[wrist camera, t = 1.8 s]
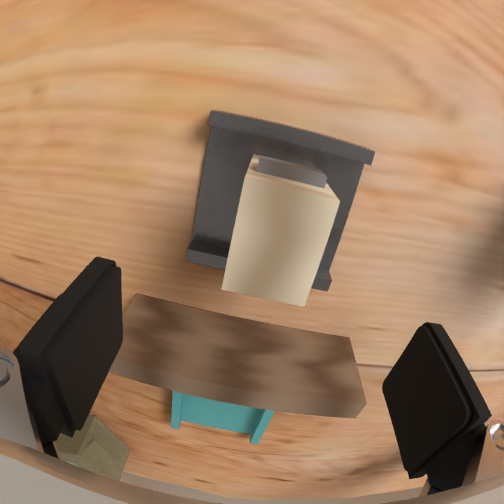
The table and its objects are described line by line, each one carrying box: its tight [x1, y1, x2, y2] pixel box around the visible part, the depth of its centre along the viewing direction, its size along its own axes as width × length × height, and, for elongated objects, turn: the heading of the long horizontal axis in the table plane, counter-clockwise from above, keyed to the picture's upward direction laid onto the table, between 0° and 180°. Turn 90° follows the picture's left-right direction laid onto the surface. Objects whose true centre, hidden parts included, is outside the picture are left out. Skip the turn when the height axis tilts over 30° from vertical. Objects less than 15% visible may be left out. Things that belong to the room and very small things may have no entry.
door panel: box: [109, 294, 367, 418], centre depth 24 cm, size 20×2×8 cm, turn 78°
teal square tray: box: [171, 391, 274, 444], centre depth 32 cm, size 11×11×2 cm
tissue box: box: [55, 415, 130, 481], centre depth 34 cm, size 19×10×16 cm, turn 108°
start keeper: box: [186, 110, 375, 291], centre depth 22 cm, size 11×11×2 cm
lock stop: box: [221, 154, 340, 307], centre depth 19 cm, size 4×7×8 cm
